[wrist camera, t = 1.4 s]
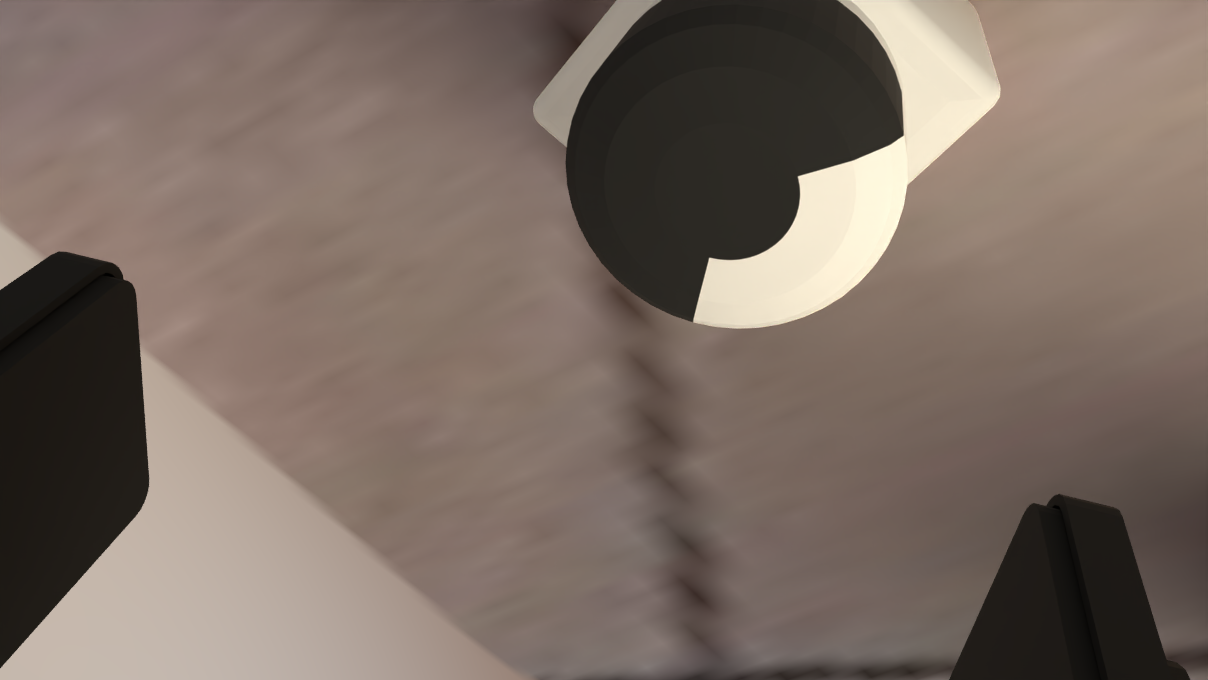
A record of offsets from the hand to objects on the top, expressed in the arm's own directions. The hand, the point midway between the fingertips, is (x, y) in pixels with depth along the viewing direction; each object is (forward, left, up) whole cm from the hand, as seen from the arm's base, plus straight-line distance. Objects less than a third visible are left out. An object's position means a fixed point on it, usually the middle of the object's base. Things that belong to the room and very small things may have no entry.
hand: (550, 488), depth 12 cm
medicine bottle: (-1, 0, -21) cm, 21 cm away
